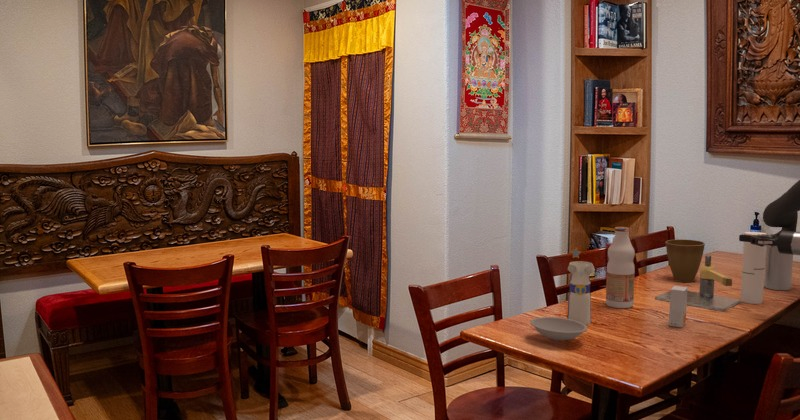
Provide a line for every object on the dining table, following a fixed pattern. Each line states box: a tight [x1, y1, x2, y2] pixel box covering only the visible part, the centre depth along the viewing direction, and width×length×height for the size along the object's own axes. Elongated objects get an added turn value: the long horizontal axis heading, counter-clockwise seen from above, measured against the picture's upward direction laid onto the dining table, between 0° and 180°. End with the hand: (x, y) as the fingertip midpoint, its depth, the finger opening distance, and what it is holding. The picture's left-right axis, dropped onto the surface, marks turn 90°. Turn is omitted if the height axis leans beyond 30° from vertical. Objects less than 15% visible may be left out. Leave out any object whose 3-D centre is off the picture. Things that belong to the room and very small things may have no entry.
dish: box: [529, 316, 588, 342], centre depth 204 cm, size 18×14×5 cm
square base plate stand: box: [654, 254, 742, 312], centre depth 249 cm, size 17×24×16 cm
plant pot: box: [665, 238, 706, 283], centre depth 282 cm, size 15×15×16 cm
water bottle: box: [566, 248, 596, 326], centre depth 223 cm, size 8×9×25 cm
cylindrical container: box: [740, 231, 768, 305], centre depth 247 cm, size 7×7×25 cm
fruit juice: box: [605, 226, 636, 309], centre depth 243 cm, size 9×9×28 cm
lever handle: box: [699, 264, 733, 287], centre depth 244 cm, size 19×5×4 cm, turn 179°
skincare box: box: [668, 285, 688, 328], centre depth 219 cm, size 6×4×12 cm
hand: (740, 237), depth 233 cm, fingers closed
